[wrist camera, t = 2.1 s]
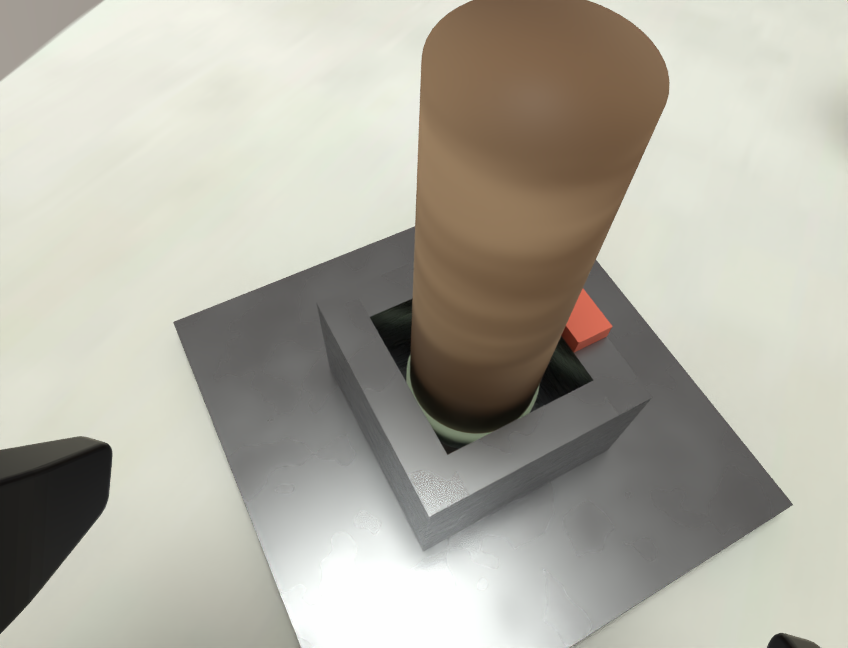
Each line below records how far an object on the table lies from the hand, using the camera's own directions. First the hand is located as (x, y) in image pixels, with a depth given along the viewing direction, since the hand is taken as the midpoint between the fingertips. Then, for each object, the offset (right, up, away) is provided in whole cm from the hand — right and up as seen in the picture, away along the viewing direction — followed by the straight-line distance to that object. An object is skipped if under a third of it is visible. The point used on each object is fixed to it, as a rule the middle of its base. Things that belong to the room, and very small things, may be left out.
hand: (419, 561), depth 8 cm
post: (+2, 0, +14) cm, 14 cm away
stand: (+1, 0, +15) cm, 15 cm away
